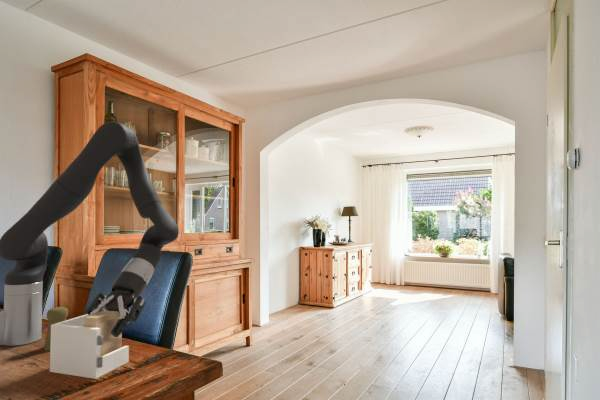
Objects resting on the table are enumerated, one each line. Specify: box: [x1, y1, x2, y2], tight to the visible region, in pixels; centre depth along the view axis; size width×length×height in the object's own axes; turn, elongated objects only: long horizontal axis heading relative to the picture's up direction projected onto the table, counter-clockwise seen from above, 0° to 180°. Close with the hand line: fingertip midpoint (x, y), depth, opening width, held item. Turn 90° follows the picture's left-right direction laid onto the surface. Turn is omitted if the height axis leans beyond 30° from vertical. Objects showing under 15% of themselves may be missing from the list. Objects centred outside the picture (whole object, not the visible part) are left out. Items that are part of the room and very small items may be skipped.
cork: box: [43, 306, 69, 352], centre depth 107 cm, size 6×6×11 cm
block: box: [85, 309, 123, 357], centre depth 92 cm, size 8×4×12 cm, turn 162°
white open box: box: [49, 313, 130, 380], centre depth 92 cm, size 10×15×11 cm
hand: (99, 333), depth 91 cm, fingers open, 8 cm apart
